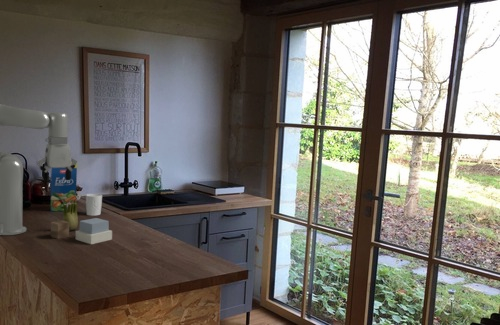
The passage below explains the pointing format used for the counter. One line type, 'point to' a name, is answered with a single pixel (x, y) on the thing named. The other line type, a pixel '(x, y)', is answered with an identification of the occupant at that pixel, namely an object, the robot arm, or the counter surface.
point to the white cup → (93, 204)
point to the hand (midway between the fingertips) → (57, 180)
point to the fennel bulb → (71, 215)
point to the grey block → (94, 226)
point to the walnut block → (59, 229)
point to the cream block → (93, 237)
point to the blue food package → (62, 188)
